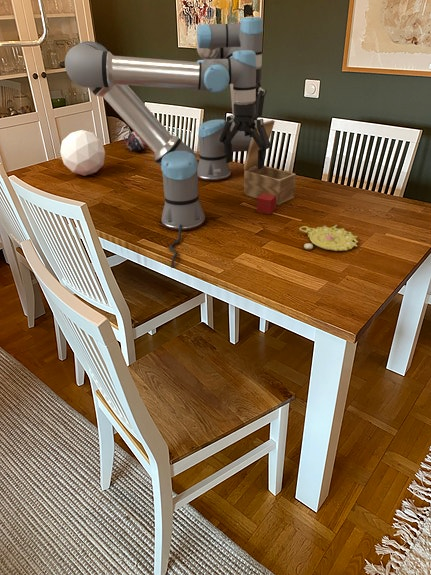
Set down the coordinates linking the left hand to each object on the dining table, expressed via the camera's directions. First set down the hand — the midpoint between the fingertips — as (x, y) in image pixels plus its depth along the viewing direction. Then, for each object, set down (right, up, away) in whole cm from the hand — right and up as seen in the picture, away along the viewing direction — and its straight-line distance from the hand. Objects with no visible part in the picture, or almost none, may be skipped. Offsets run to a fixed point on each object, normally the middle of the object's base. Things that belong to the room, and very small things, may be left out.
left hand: (244, 165), depth 160 cm
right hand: (+3, +14, +10) cm, 17 cm away
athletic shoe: (-54, +29, +77) cm, 98 cm away
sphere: (-70, +9, +45) cm, 84 cm away
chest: (+11, -8, +15) cm, 20 cm away
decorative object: (+26, -29, -18) cm, 43 cm away
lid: (+6, +10, +8) cm, 14 cm away
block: (+8, -16, +3) cm, 18 cm away
